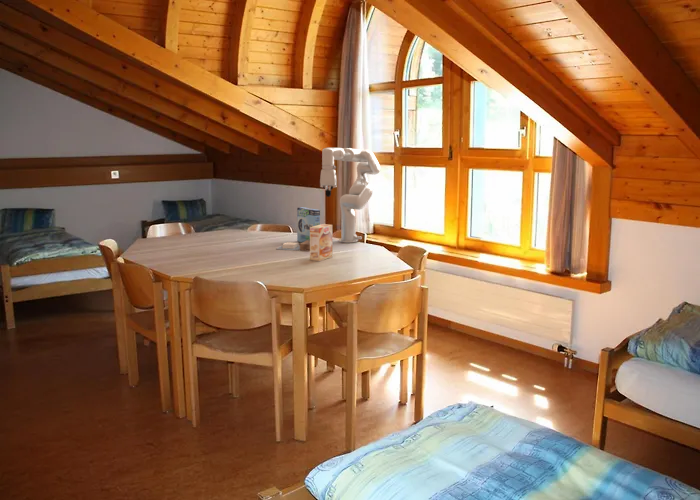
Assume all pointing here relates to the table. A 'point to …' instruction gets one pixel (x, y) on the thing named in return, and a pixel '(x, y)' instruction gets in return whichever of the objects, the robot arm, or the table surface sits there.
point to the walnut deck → (305, 245)
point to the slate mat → (288, 248)
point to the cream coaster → (290, 245)
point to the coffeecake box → (320, 242)
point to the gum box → (306, 222)
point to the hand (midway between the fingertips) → (328, 196)
